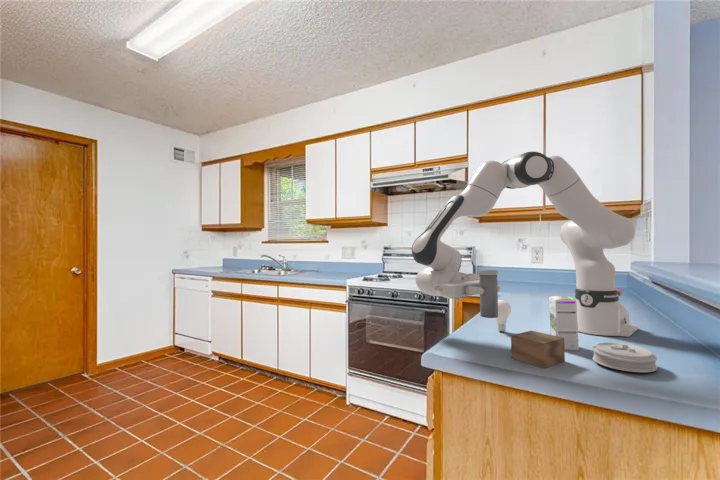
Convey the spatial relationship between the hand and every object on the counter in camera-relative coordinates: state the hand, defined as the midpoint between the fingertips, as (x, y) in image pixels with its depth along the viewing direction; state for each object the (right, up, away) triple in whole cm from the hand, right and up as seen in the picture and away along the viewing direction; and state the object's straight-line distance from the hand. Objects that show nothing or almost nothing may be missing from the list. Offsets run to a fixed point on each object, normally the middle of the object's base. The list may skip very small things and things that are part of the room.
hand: (491, 290), depth 98 cm
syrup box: (+22, -17, +2) cm, 28 cm away
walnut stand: (+9, -17, -8) cm, 21 cm away
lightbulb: (+11, -17, +20) cm, 29 cm away
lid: (+28, -17, -13) cm, 35 cm away
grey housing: (0, -8, +1) cm, 8 cm away
